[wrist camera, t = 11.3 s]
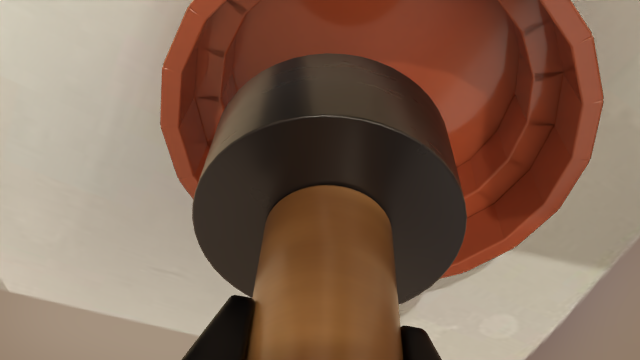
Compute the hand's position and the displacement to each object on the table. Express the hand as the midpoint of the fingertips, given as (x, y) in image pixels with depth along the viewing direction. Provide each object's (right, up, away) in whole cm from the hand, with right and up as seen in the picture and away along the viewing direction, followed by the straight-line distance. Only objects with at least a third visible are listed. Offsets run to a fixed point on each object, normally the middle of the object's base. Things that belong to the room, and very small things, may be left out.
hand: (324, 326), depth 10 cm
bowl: (+2, +6, +11) cm, 13 cm away
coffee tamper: (0, +3, +4) cm, 5 cm away
